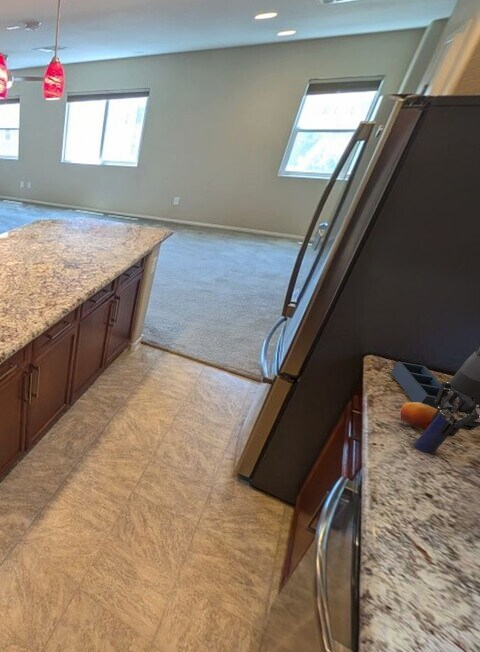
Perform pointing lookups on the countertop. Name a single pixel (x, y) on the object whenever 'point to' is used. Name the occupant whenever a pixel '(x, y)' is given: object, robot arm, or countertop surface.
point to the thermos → (434, 433)
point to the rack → (417, 382)
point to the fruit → (417, 415)
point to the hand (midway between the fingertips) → (440, 428)
